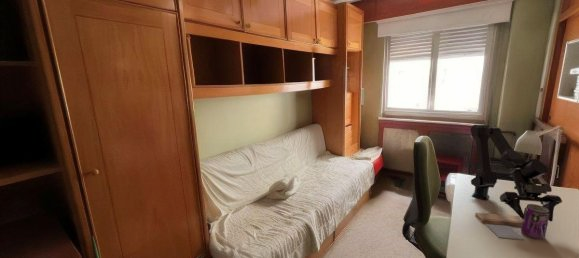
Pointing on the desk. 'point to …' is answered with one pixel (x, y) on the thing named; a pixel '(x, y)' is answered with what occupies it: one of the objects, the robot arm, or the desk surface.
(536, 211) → the beverage can
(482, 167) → the robot arm
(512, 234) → the slate mat
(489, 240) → the desk surface
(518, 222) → the tan flat block
